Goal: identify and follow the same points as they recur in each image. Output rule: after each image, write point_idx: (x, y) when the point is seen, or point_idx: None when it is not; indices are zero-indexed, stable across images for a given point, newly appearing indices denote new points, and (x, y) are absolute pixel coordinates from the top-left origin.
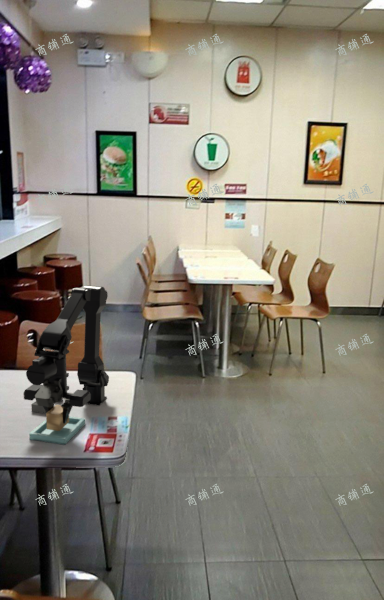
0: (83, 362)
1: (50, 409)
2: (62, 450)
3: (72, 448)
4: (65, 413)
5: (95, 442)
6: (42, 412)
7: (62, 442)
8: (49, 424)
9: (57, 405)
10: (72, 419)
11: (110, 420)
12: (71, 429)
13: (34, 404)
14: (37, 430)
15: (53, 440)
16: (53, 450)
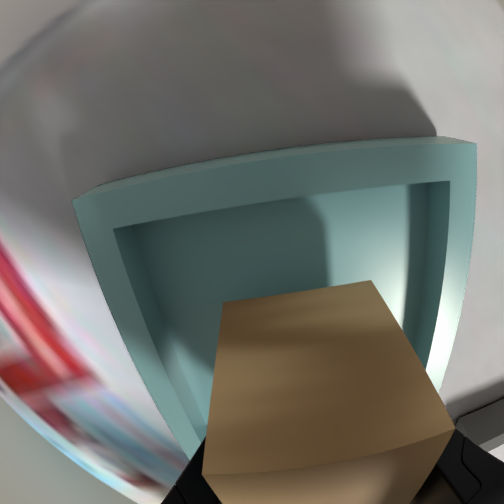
0: None
1: (423, 484)
2: (71, 113)
3: (35, 179)
4: (175, 500)
5: (3, 305)
6: (474, 414)
7: (112, 185)
8: (354, 320)
9: None
10: None
11: (131, 471)
12: (155, 362)
13: None
14: (444, 233)
15: (200, 164)
16: (132, 70)
